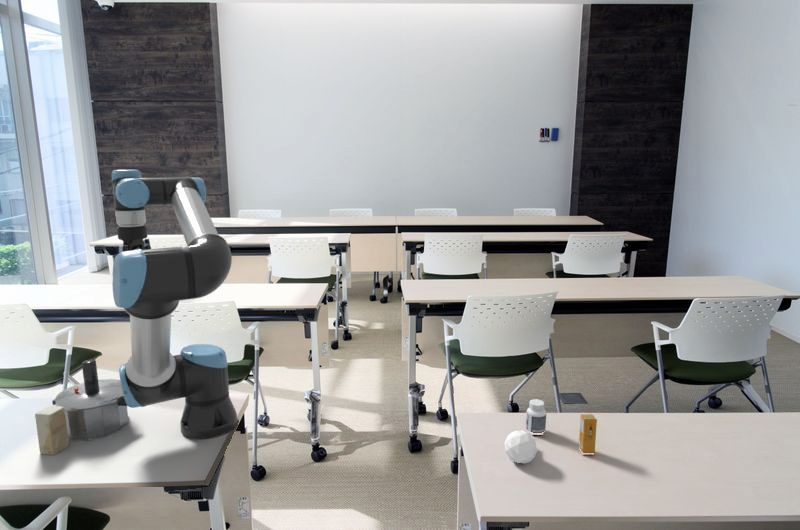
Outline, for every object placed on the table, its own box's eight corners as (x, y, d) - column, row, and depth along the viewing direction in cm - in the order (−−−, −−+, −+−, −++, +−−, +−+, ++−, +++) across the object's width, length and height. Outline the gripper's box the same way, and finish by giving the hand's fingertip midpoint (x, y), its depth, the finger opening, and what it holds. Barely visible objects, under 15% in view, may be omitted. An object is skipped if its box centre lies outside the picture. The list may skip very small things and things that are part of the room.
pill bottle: (549, 433, 146) (551, 403, 144) (536, 438, 143) (538, 408, 141) (534, 425, 150) (536, 396, 148) (521, 430, 147) (523, 401, 145)
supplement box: (590, 448, 138) (593, 413, 136) (594, 455, 135) (597, 420, 133) (577, 448, 138) (580, 413, 136) (581, 455, 135) (584, 419, 133)
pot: (148, 412, 157) (145, 384, 155) (119, 440, 141) (115, 409, 139) (76, 411, 157) (72, 383, 155) (39, 439, 141) (34, 408, 140)
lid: (139, 383, 156) (136, 350, 154) (106, 411, 138) (101, 375, 136) (81, 382, 156) (77, 350, 154) (40, 410, 139) (35, 374, 137)
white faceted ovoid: (495, 451, 130) (503, 434, 141) (521, 476, 128) (527, 456, 139) (515, 430, 128) (522, 414, 139) (542, 455, 126) (546, 436, 137)
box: (53, 455, 134) (47, 415, 132) (39, 453, 135) (33, 414, 133) (70, 444, 139) (64, 406, 137) (56, 443, 140) (50, 404, 138)
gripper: (140, 219, 160) (147, 287, 165) (92, 231, 136) (101, 309, 140) (164, 219, 160) (170, 287, 165) (121, 231, 136) (129, 309, 140)
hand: (138, 297), depth 152 cm, fingers open, 13 cm apart
